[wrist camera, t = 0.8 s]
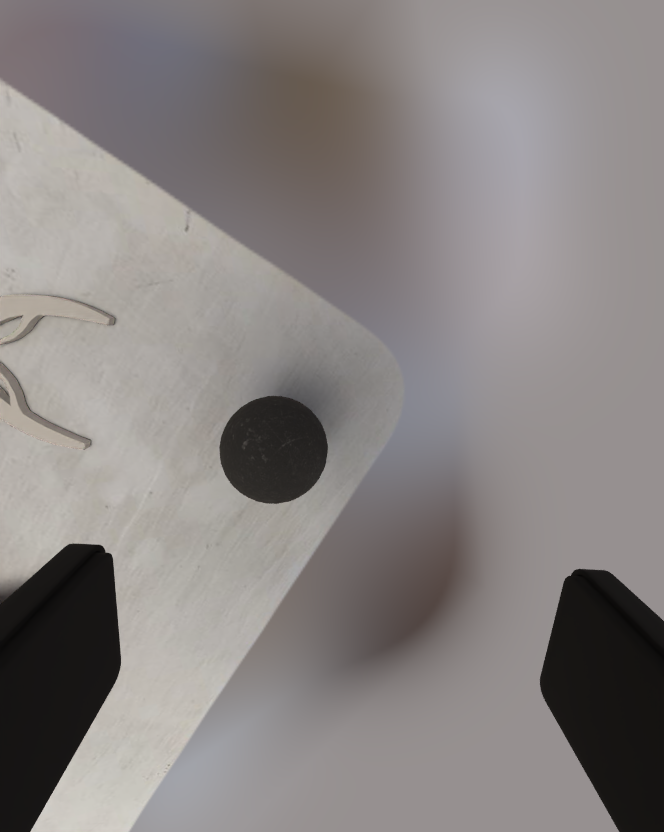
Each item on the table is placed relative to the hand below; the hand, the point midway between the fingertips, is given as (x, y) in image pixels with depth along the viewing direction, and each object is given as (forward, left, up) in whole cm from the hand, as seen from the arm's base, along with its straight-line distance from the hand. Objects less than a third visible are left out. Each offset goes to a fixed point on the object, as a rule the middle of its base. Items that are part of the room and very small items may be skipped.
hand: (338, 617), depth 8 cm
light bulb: (+1, -3, -20) cm, 21 cm away
